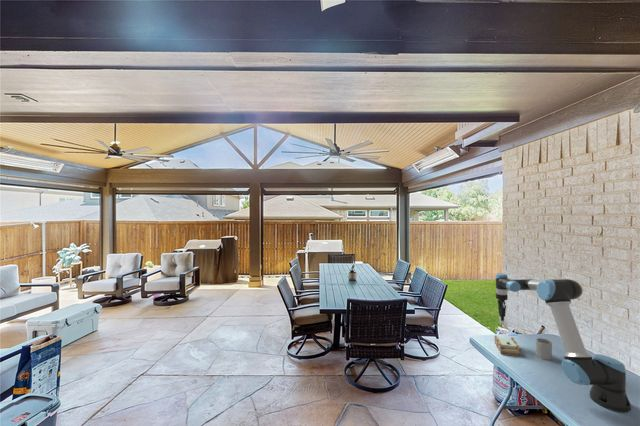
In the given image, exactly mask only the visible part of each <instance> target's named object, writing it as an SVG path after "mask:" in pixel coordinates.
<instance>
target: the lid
mask: <svg viewBox="0 0 640 426" xmlns="http://www.w3.org/2000/svg"><path fill="white" fill-rule="evenodd" d="M497 338H498V339H499V341H500V342H501V344H502V346H503V348H511V349H517V346H516V345H515V343H514V342H513V341H512V339H511V338H510V337H509V338H507V337H500V336H497Z"/></svg>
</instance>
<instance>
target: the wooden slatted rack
mask: <svg viewBox="0 0 640 426" xmlns="http://www.w3.org/2000/svg"><path fill="white" fill-rule="evenodd" d="M497 337H498V336H497V335H494V345H495V344H496V345H495V347H496V348H497V350H498V352H499V351H500V352H499V353H500V354H501V355H504V356H505V355H506V356H514V357H521V356H522V354H521V353H522V351H521V350H522V349H521V348H522V347H520V345H519V343H518V342H517V341H516V340H515V338H514V337H510V339H512V341H513V342H514V343H515V345H516V346H517V349H511V348H503V346H502V344H501V342H500V341H499V339H498V338H497Z"/></svg>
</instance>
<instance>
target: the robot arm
mask: <svg viewBox="0 0 640 426" xmlns="http://www.w3.org/2000/svg"><path fill="white" fill-rule="evenodd" d="M509 291H510V292H513V293H516V292H519V291H536V294H537V296H538V298H540V300H542V301H544V302H545V305H547V306H548V307H550V310H551V313H552V315H553V316H552V317H553V318H554V322H555V324H556V328H557V330H558V333H559V336H560V339H561V343H562V345H563V348H564V351H565V353H564V354H563V358H564V360H562V361H561V365H560V366H561V369H562V371H563V373H564V375H565V376H566V378H567V379H569V380H570V381H571V382H572V383H574V384H576V385H579V386H591V387H590V389H589V397H590V399H591V400H592V401H593V402H594V403H596V404H597V405H600V406H601V407H602V408H605V409H608V410H611V411H615V412H617V413H618V412H619V413H629V412H631V410H632V404H631V402H630V399H629V397H628V395H627V393H626V390H627V387H626V383H627V382H626V379H627V377H626V376H627V375H626V374H627V371H626V366H625V365H624V363H623V362H621V361H620V360H618V359H616V358H613V357H611V356H607V355H605V354H598V353H597V354H596V353H595V354H593V357H592V355H591V354H589V353H588V352H587V350H586V348H585V345H584V343H583V339H582V337H581V334H580V332H579V329H578V326H577V323H576V321H575V318H574V314H573V313H572V309H571V307H570V304H571V303H572V301H571V300H576V299H578V298H580V297H581V296H583V295H582V294H583V291H584V290H583V287H582V285H581V284H580V283H578V282H577V281H575V280H573V279H567V278H564V279H563V278H559V279H556V278H555V279H553V278H552V279H551V278H550V279H543V280H542V279H533V278H528V279H527V278H525V279H520V278H519V279H511V278H508V274H506V273H504V272H503V273H499V272H498V273H496V274H495V299H497V305H498V306H497V307H498V314H499V315H498V316H499V325H503V326H504V325H505V318H506V309H507V305H506V301H507V300H509V298H508V297H509V296H508V292H509Z"/></svg>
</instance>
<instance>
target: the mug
mask: <svg viewBox="0 0 640 426" xmlns="http://www.w3.org/2000/svg"><path fill="white" fill-rule="evenodd" d="M535 345H536V347H535V348H536V349H535V351H536V353H535V354H536V356H537V357H538V358H539V359H542V360H545V361H551V360H552V359H553V342H552V341H551V340H549V339H547V338H541V337H540V338H536V340H535Z"/></svg>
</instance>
